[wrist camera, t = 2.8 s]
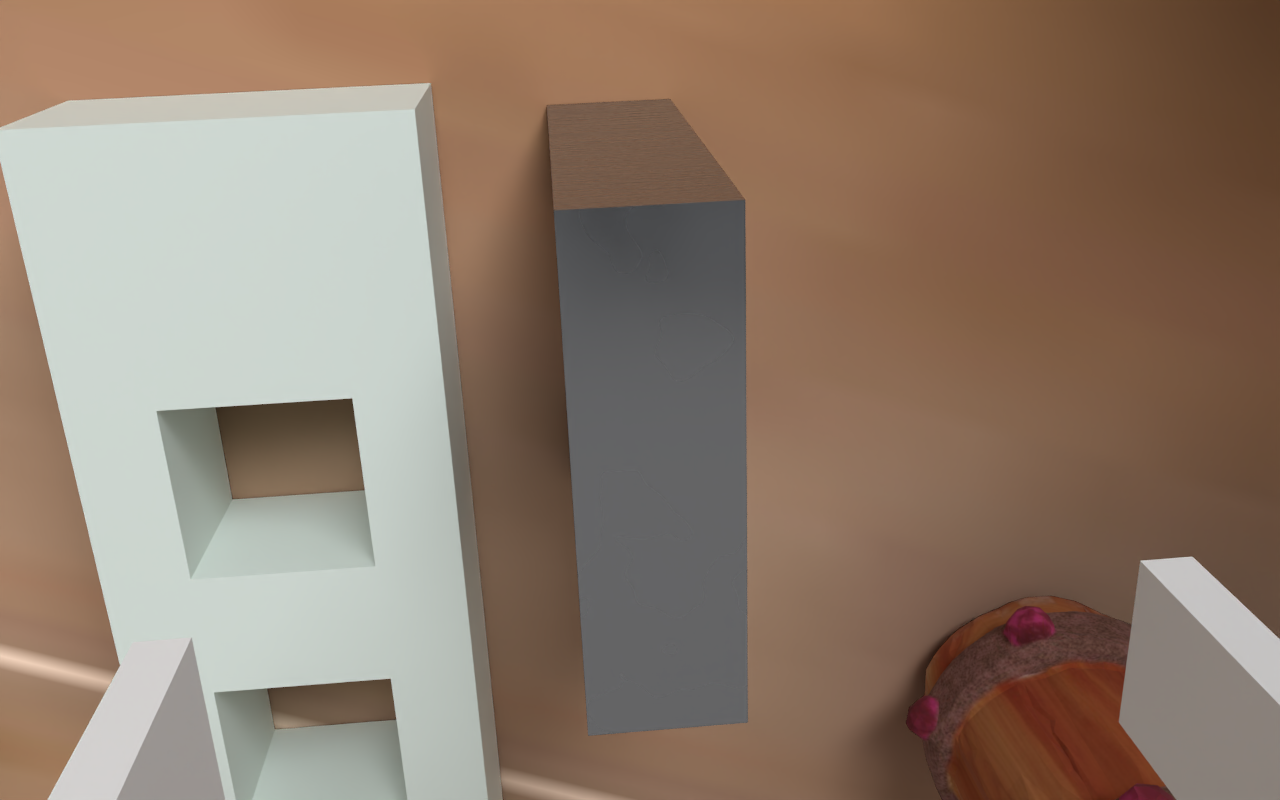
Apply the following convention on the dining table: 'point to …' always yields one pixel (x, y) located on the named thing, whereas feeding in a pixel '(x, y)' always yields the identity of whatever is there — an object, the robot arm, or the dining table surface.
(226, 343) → the pale board with holes
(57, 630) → the dining table surface
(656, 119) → the grey block
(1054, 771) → the mug
